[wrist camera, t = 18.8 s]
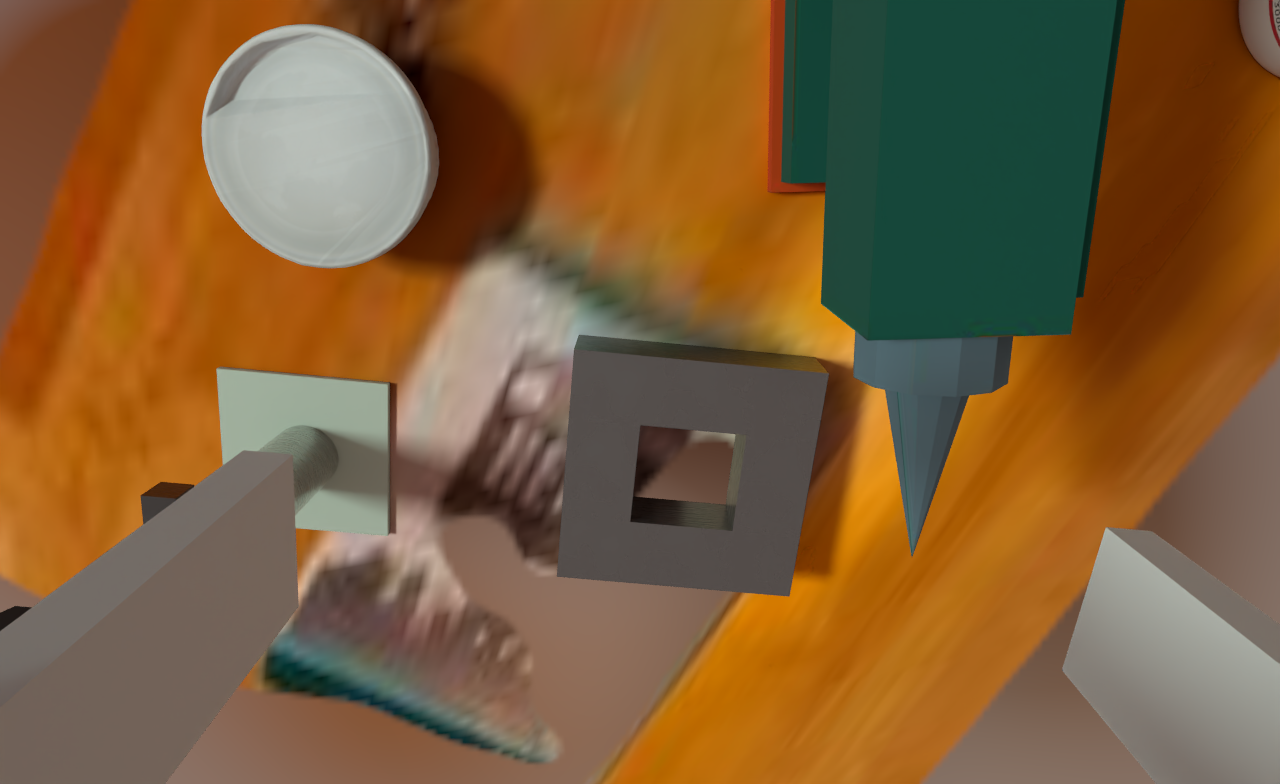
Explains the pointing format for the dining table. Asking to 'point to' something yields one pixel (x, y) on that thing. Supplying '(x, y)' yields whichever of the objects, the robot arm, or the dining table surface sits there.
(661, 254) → the dining table surface
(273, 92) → the ramekin
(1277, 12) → the fruit juice
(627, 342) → the plate
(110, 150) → the dining table surface
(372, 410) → the rubber mat
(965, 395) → the power tool
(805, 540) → the dining table surface
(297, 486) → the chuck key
